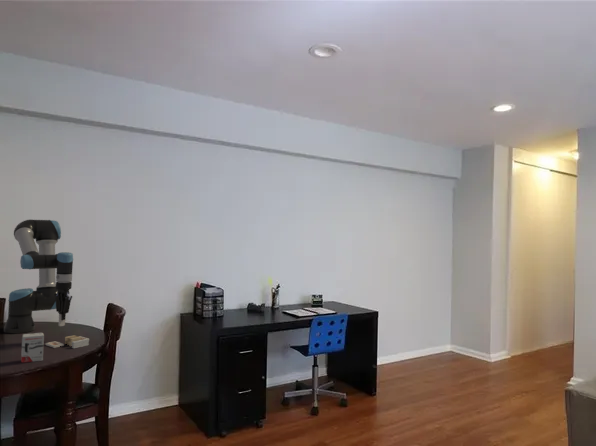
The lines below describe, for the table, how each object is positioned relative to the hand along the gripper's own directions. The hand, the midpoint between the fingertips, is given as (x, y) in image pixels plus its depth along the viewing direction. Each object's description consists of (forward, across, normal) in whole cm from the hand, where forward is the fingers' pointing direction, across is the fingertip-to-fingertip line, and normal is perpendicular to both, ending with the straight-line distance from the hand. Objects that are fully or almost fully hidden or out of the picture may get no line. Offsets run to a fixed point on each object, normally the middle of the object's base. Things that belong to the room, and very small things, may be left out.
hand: (61, 325), depth 241 cm
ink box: (+7, +23, -27) cm, 36 cm away
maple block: (+8, +12, 0) cm, 14 cm away
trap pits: (+8, +7, 0) cm, 10 cm away
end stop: (+8, +18, 0) cm, 19 cm away
